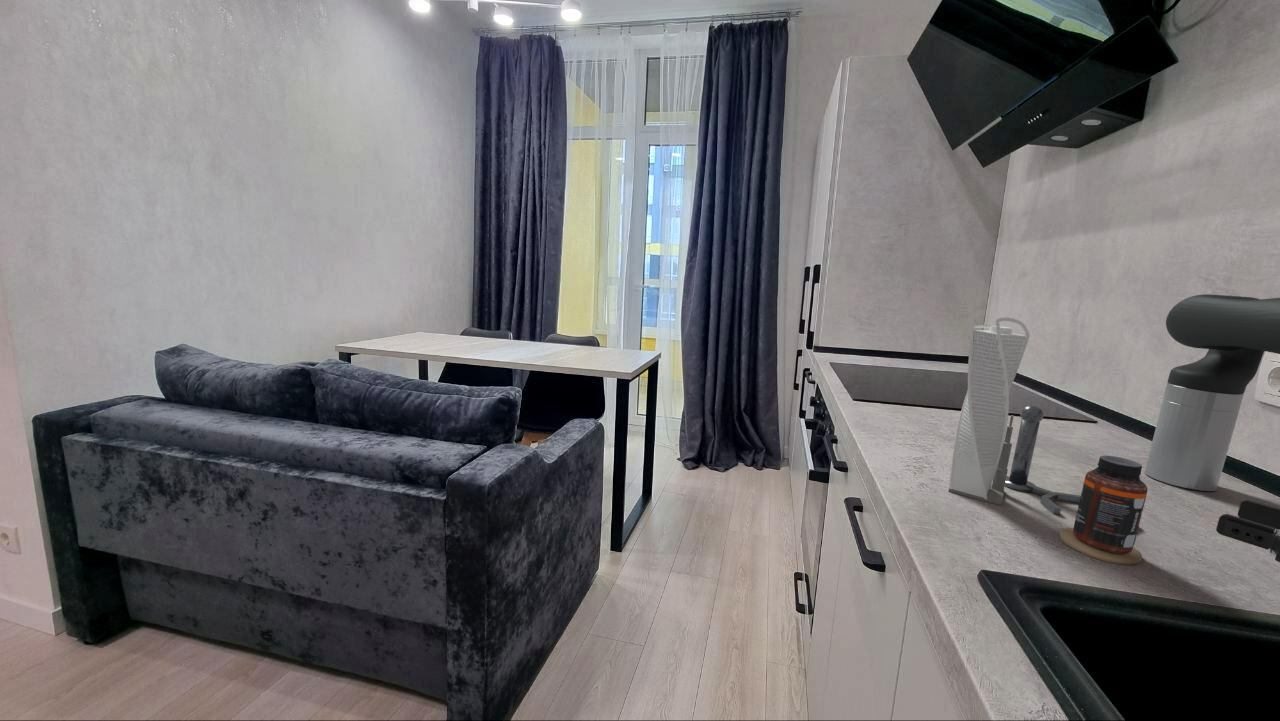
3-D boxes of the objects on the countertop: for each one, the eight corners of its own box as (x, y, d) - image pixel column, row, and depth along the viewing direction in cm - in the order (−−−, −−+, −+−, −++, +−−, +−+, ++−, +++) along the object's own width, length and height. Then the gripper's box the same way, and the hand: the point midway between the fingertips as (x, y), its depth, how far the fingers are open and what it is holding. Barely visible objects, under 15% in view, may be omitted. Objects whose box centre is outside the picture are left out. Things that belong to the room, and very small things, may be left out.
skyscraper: (1000, 508, 78) (1039, 321, 72) (939, 491, 82) (971, 314, 77) (1003, 491, 84) (1039, 318, 79) (946, 476, 89) (976, 312, 84)
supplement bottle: (1144, 559, 64) (1167, 472, 62) (1089, 551, 65) (1110, 465, 63) (1112, 535, 70) (1131, 455, 68) (1061, 528, 71) (1079, 449, 69)
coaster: (1074, 527, 73) (1075, 523, 73) (1150, 555, 67) (1151, 551, 66) (1048, 539, 69) (1049, 535, 69) (1127, 571, 62) (1128, 566, 62)
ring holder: (1009, 477, 91) (1025, 400, 88) (1143, 522, 76) (1167, 431, 74) (979, 486, 86) (995, 405, 83) (1117, 537, 71) (1141, 440, 68)
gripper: (1523, 538, 47) (1254, 473, 61) (1528, 579, 40) (1220, 494, 53) (1494, 613, 49) (1237, 532, 62) (1493, 665, 41) (1201, 561, 55)
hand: (1229, 515), depth 58 cm, fingers open, 8 cm apart
